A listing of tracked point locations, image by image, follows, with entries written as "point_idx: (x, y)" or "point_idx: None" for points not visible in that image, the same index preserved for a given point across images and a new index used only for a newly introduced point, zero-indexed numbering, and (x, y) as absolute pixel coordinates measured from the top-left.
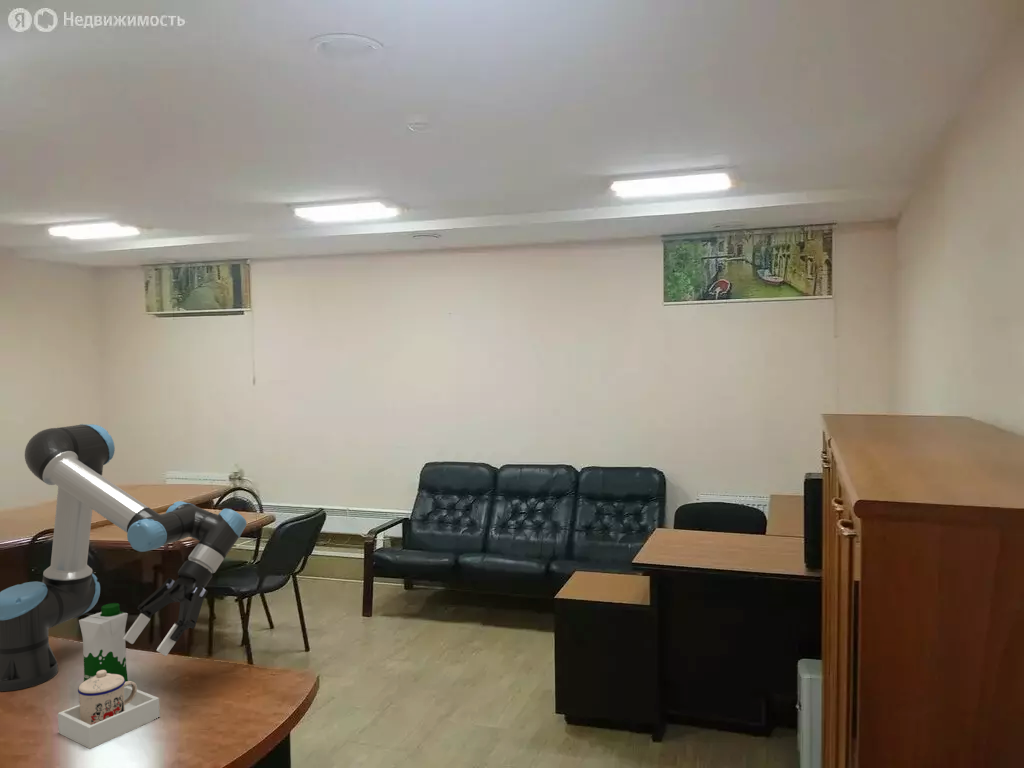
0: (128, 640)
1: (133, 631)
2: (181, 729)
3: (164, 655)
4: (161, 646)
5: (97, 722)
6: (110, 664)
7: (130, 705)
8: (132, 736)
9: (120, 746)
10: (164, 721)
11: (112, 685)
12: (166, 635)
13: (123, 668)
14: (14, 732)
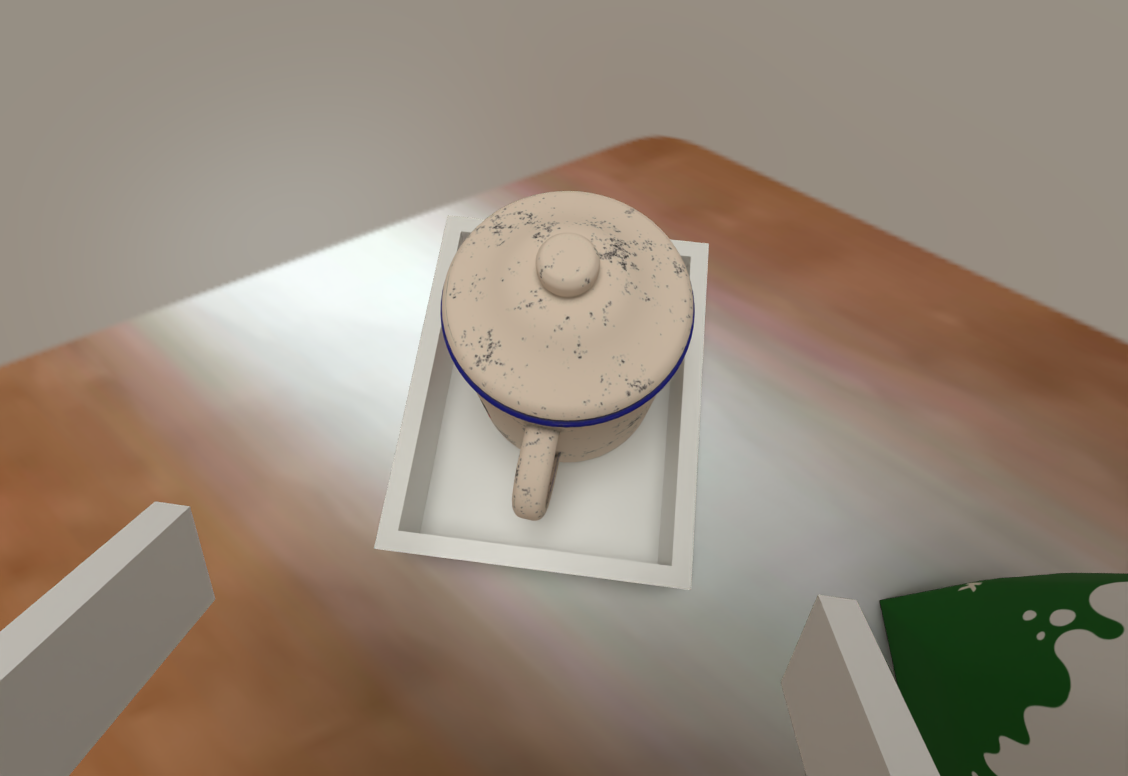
0: (803, 640)
1: (845, 736)
2: (220, 512)
3: (208, 596)
4: (112, 541)
5: (454, 255)
6: (987, 668)
7: (607, 548)
8: (385, 385)
9: (367, 317)
10: (353, 534)
11: (453, 284)
12: (16, 658)
13: (964, 766)
14: (850, 232)
